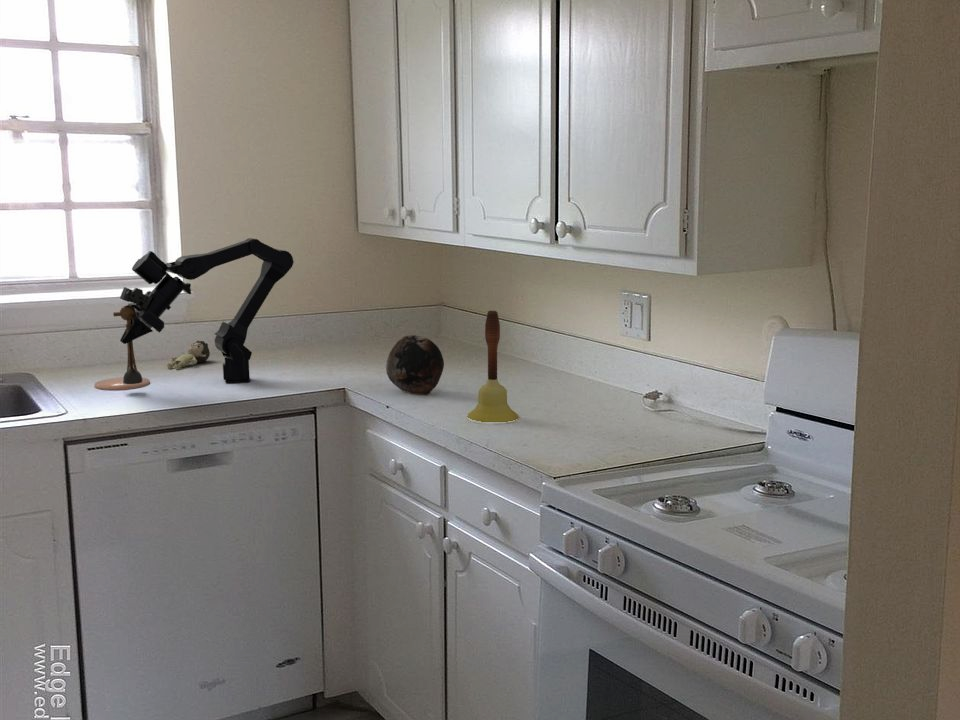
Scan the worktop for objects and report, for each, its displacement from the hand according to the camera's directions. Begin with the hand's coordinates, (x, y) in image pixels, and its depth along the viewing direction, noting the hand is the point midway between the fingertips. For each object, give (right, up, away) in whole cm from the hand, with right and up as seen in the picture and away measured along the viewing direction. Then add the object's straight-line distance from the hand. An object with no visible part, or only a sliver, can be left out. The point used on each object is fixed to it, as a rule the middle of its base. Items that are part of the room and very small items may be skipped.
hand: (122, 342), depth 263 cm
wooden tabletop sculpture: (+1, -10, +3) cm, 11 cm away
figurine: (+6, -6, +40) cm, 41 cm away
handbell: (+94, -18, -23) cm, 99 cm away
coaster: (-5, -11, +14) cm, 18 cm away
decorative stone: (+75, -13, +3) cm, 76 cm away
